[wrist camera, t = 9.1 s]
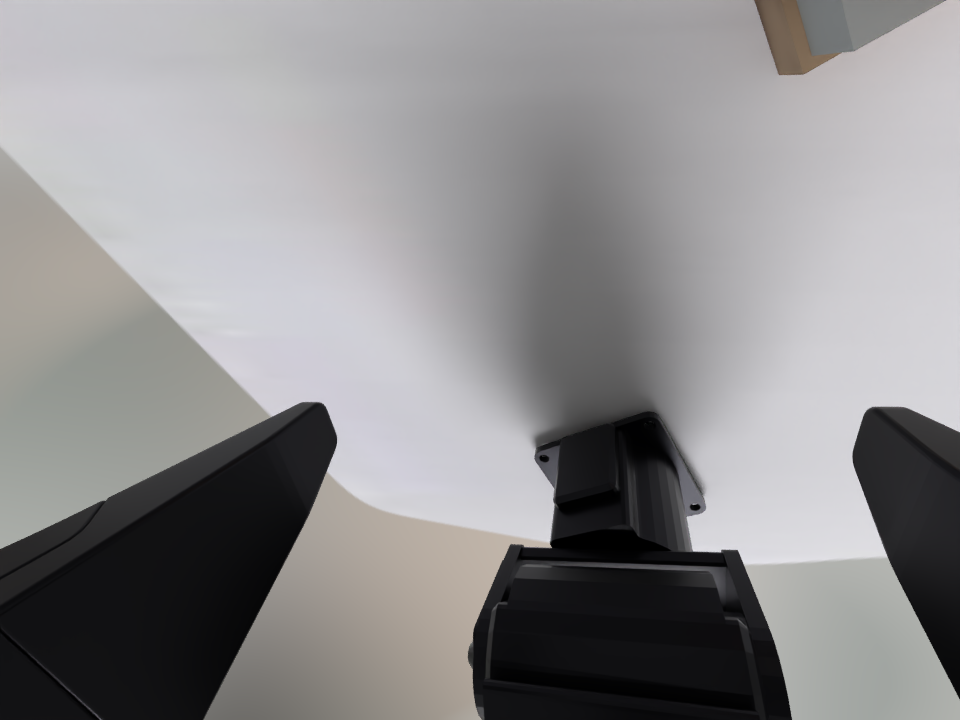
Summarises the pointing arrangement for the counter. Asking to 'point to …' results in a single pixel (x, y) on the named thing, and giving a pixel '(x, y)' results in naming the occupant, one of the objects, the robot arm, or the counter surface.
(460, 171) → the counter surface
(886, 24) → the top slab
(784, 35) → the base slab
